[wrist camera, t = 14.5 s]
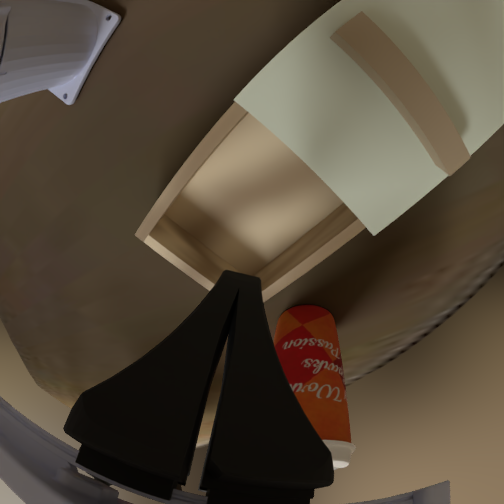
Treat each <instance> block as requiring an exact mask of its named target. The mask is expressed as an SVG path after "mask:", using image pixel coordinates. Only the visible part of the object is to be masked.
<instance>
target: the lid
mask: <svg viewBox="0 0 504 504" xmlns="http://www.w3.org/2000/svg"><path fill="white" fill-rule="evenodd" d="M234 101H235V102H237V103H238V104H239V105H240V106H241V107H243V108H244V109H245V110H246V111H248V112H249V113H250V114H251V115H252V116H254V117H255V118H256V119H257V120H258V121H259V122H261V123H262V124H263V125H264V126H265V127H266V128H268V129H269V130H270V131H271V132H272V133H273V134H274V135H276V136H277V137H278V138H279V139H280V140H281V141H282V142H283V143H284V144H285V145H287V146H288V147H289V148H290V149H291V150H292V151H293V152H294V153H295V154H296V155H297V156H298V157H299V158H300V159H301V160H303V161H304V162H305V163H306V164H307V165H308V166H309V167H310V168H311V169H312V170H313V171H314V172H315V173H316V174H317V175H318V176H319V177H320V178H321V179H322V180H323V181H324V182H325V183H326V184H327V185H328V186H329V187H330V188H331V189H332V190H333V192H334V193H335V194H336V195H337V196H338V197H339V198H340V199H341V200H342V201H343V202H344V203H345V204H346V205H347V206H348V208H349V209H350V210H351V211H352V212H353V213H354V214H355V215H356V216H357V217H358V219H359V220H360V221H361V222H362V223H363V224H364V225H365V227H366V228H367V229H368V230H369V231H370V232H371V233H372V235H373V236H375V235H376V234H377V233H379V232H380V231H381V230H382V229H384V228H385V227H386V226H388V225H389V224H390V223H391V222H393V221H394V220H395V219H397V218H398V217H399V216H400V215H402V214H403V213H404V212H405V211H407V210H408V209H409V208H410V207H411V206H413V205H414V204H415V203H416V202H418V201H419V200H420V199H421V198H422V197H424V196H425V195H426V194H427V193H428V192H430V191H431V190H432V189H433V188H434V187H435V186H437V185H438V184H439V183H440V182H441V181H442V180H444V179H445V178H446V177H447V176H448V175H449V176H451V175H452V174H453V173H454V172H455V171H457V170H458V169H459V168H460V167H461V166H462V165H463V164H464V163H465V162H467V161H468V160H469V159H470V158H471V155H472V154H473V153H474V152H475V151H476V150H477V149H478V148H479V147H480V146H481V145H482V144H483V143H484V142H485V141H486V140H488V139H489V138H490V137H491V136H492V135H493V134H494V133H495V132H496V131H497V130H498V129H499V128H500V127H501V126H502V125H503V124H504V0H341V1H340V2H338V3H337V4H336V5H334V6H333V7H332V8H331V9H329V10H328V11H327V12H325V13H324V14H323V15H322V16H320V17H319V18H318V19H317V20H316V21H314V22H313V23H312V24H311V25H310V26H308V27H307V28H306V29H305V30H304V31H303V32H301V33H300V34H299V35H298V36H297V37H296V38H295V39H293V40H292V41H291V42H290V43H289V44H288V45H287V46H286V47H285V48H284V49H283V50H282V51H280V52H279V53H278V54H277V55H276V56H275V57H274V58H273V59H272V60H271V61H270V62H269V63H268V64H267V65H266V66H265V67H264V68H263V69H262V70H261V71H260V72H259V73H258V74H257V75H256V76H255V77H254V78H253V79H252V80H251V81H250V82H249V83H248V84H247V85H246V87H245V88H244V89H243V90H242V91H241V92H240V93H239V94H238V95H237V96H236V97H235V98H234Z"/></svg>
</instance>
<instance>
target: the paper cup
mask: <svg viewBox="0 0 504 504" xmlns="http://www.w3.org/2000/svg"><path fill="white" fill-rule="evenodd" d="M274 347H275V350H276V352H277V355H278V358H279V361H280V363H281V366H282V368H283V371H284V373H285V375H286V377H287V380H288V382H289V384H290V386H291V388H292V390H293V392H294V394H295V396H296V398H297V400H298V402H299V403H300V405H301V407H302V409H303V411H304V413H305V414H306V416H307V418H308V419H309V421H310V422H311V424H312V426H313V427H314V429H315V430H316V432H317V433H318V435H319V436H320V438H321V439H322V441H323V442H324V443H325V445H326V446H327V447H328V449H329V450H330V452H331V454H332V460H333V468H334V470H335V469H337V468H343V467H346V466H348V464H349V463H350V459H351V454H352V453H353V452H354V451H355V449H356V446H355V445H354V444H352V443H351V434H350V424H349V414H348V404H347V397H346V388H345V380H344V373H343V366H342V359H341V353H340V347H339V341H338V335H337V330H336V325H335V321H334V318H333V316H332V314H331V313H330V312H329V311H328V310H326V309H325V308H323V307H320V306H316V305H298V306H295V307H292V308H290V309H288V310H286V311H285V312H283V313H282V314H281V316H280V317H279V320H278V323H277V327H276V332H275V338H274Z"/></svg>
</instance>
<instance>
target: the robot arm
mask: <svg viewBox="0 0 504 504" xmlns="http://www.w3.org/2000/svg"><path fill="white" fill-rule="evenodd" d="M110 16H111V19H110V20H109V17H110ZM120 21H121V16H120V15H119V14H117V13H115V12H113V11H111V10H109V9H107V8H105V7H103V6H100V5H98V4H96V3H94V2H92V1H89V0H0V103H1V102H4V101H7V100H10V99H13V98H16V97H19V96H22V95H26V94H29V93H33V92H37V91H40V90H44V89H48V90H50V91H51V92H52V93H53V94H55V95H56V96H57V97H58V98H60V99H61V100H62V101H64V102H65V103H66V104H68V105H70V104H73V103H74V102H75V100H76V98H77V96H78V94H79V92H80V90H81V88H82V86H83V83H84V82H85V80H86V78H87V76H88V74H89V72H90V70H91V68H92V66H93V64H94V63H95V61H96V59H97V57H98V56H99V54H100V52H101V51H102V49H103V47H104V46H105V44H106V42H107V41H108V39H109V38H110V36H111V35H112V33H113V32H114V30H115V29H116V27H117V26H118V24H119V23H120ZM66 95H67V97H66ZM228 334H229V335H228ZM227 337H228V342H227V350H226V357H225V365H224V373H223V381H222V387H221V393H220V397H219V402H218V406H217V411H216V415H215V419H214V424H213V428H212V432H211V437H210V441H209V445H208V450H207V454H206V459H205V463H204V467H203V471H202V476H201V480H200V484H199V489H198V490H199V491H204V492H206V496H201V495H197V494H192V493H188V492H184V491H181V490H177V485H178V484H180V485H184V486H185V484H186V480H187V476H189V474H190V470H191V465H192V461H193V456H194V451H195V448H196V443H197V439H198V435H199V431H200V426H201V422H202V418H203V414H204V410H205V405H206V401H207V397H208V393H209V389H210V386H211V383H212V380H213V377H214V374H215V371H216V368H217V365H218V363H219V360H220V357H221V354H222V351H223V348H224V345H225V342H226V340H227ZM63 429H64V431H65V433H66V434H68V435H69V436H71V437H72V438H74V439H75V440H77V441H78V442H80V443H81V444H82V445H81V448H80V450H77V449H75V448H73V447H71V446H70V445H68V444H66V443H65V442H63V441H61V440H59V439H58V438H56V437H54V436H53V435H51V434H50V433H48V432H47V431H45V430H43V429H42V428H41V427H39V426H38V425H36V424H35V423H33V422H32V421H31V420H29V419H27V418H26V417H25V416H24V415H22V414H21V413H20V412H18V411H17V410H15V409H14V408H13V407H12V406H11V405H10V404H9V403H8V402H6V401H5V400H4V399H3V398H2V397H0V478H1V479H2V480H3V481H4V482H5V483H6V484H7V486H8V487H9V488H10V489H11V490H12V491H13V492H14V493H15V494H16V495H18V497H20V499H22V500H23V501H24V502H25V503H26V504H132V503H129V502H127V501H124V500H121V499H118V495H119V492H118V491H117V490H115V489H113V488H111V487H109V486H107V485H106V484H104V483H102V482H100V481H97V480H95V479H93V478H90V477H88V476H85V475H83V474H80V473H78V470H77V467H78V468H80V469H82V470H84V471H86V472H87V473H89V474H91V475H93V476H95V477H97V478H99V479H102V480H104V481H106V482H108V483H110V484H113V485H115V486H118V487H120V488H122V489H125V490H127V491H130V492H132V493H135V494H138V495H141V496H143V497H147V498H149V499H152V500H155V501H159V502H162V503H165V504H310V499H312V498H313V497H314V489H316V488H322V487H326V486H330V485H331V484H332V483H333V481H334V468H333V460H332V454H331V452H330V450H329V449H328V447H327V446H326V445H325V443H324V442H323V441H322V439H321V438H320V436H319V435H318V433H317V432H316V430H315V429H314V427H313V426H312V424H311V422H310V421H309V419H308V418H307V416H306V414H305V413H304V411H303V409H302V407H301V405H300V403H299V402H298V400H297V398H296V396H295V394H294V392H293V390H292V388H291V386H290V384H289V382H288V380H287V377H286V375H285V373H284V371H283V368H282V366H281V363H280V361H279V358H278V355H277V352H276V350H275V347H274V343H273V340H272V337H271V334H270V330H269V326H268V322H267V318H266V314H265V309H264V303H263V297H262V288H261V279H260V278H259V277H255V276H251V275H247V274H243V273H238V272H234V271H230V270H225V271H223V272H222V274H221V276H220V278H219V279H218V281H217V282H216V284H215V285H214V286H213V288H212V289H211V290H210V292H209V293H208V294H207V296H206V297H205V298H204V299H203V300H202V302H201V303H200V304H199V305H198V306H197V307H196V309H195V310H194V311H193V312H192V313H191V314H190V315H189V316H188V317H187V318H186V319H185V320H184V321H183V322H182V323H181V324H180V325H179V326H178V327H177V328H176V329H175V330H174V331H173V332H172V333H171V334H170V335H169V336H167V337H166V338H165V339H164V340H163V341H162V342H160V343H159V344H158V345H157V346H155V347H154V348H153V349H152V350H150V351H149V352H148V353H147V354H145V355H144V356H143V357H141V358H140V359H138V360H137V361H136V362H134V363H133V364H131V365H130V366H128V367H126V368H125V369H123V370H122V371H120V372H119V373H117V374H116V375H114V376H112V377H111V378H109V379H107V380H105V381H103V382H102V383H100V384H98V385H96V386H94V387H92V388H90V389H88V390H86V391H84V392H83V393H82V394H81V395H80V397H79V398H78V400H77V401H76V403H75V404H74V406H73V407H72V409H71V412H70V414H69V416H68V418H67V421H66V423H65V425H64V428H63ZM349 504H450V482H449V481H448V480H447V481H444V482H442V483H438V484H435V485H432V486H429V487H426V488H422V489H419V490H416V491H412V492H409V493H405V494H400V495H396V496H392V497H388V498H383V499H377V500H371V501H364V502H357V503H349Z"/></svg>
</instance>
